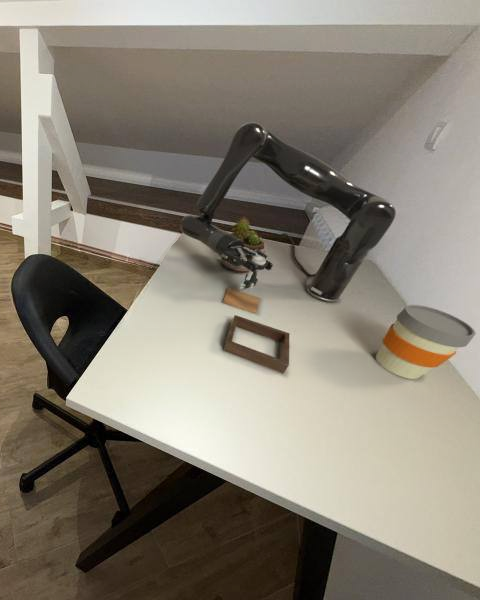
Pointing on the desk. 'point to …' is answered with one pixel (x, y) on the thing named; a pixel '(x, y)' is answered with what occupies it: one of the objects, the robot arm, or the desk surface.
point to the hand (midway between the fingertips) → (263, 268)
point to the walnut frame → (255, 355)
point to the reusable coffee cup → (422, 341)
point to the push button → (251, 276)
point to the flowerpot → (245, 243)
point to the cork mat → (241, 300)
